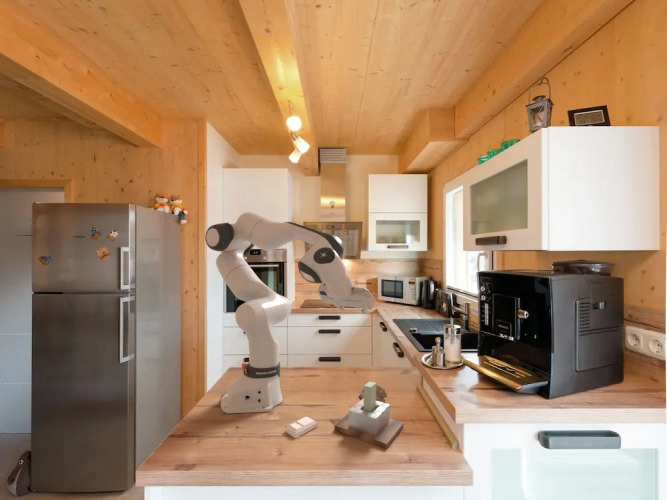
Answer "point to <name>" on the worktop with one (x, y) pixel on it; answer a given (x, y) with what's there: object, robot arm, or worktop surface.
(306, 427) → the soap bar
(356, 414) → the grey slotted block
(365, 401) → the sage slat
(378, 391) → the wooden fragment
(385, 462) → the worktop surface
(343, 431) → the walnut board
